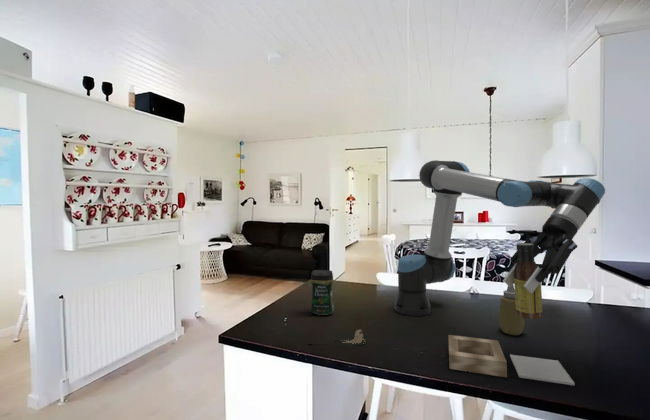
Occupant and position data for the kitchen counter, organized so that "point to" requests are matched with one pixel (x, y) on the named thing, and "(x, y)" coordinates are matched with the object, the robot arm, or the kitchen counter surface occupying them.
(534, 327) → the kitchen counter surface
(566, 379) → the grey mat
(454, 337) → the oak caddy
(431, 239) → the robot arm
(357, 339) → the jawbone
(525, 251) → the sauce bottle
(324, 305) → the coffee jar
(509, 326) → the squeeze bottle
